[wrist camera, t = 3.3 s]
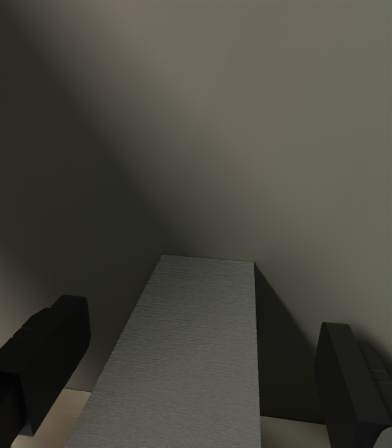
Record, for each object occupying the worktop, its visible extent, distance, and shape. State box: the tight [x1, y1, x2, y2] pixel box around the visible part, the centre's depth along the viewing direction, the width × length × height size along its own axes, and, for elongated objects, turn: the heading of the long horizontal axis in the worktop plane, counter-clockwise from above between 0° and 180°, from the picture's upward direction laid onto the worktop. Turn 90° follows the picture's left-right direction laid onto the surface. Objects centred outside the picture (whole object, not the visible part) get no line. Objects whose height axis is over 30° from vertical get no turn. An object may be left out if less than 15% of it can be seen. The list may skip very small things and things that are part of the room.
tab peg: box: [63, 254, 261, 448], centre depth 10 cm, size 4×4×8 cm
